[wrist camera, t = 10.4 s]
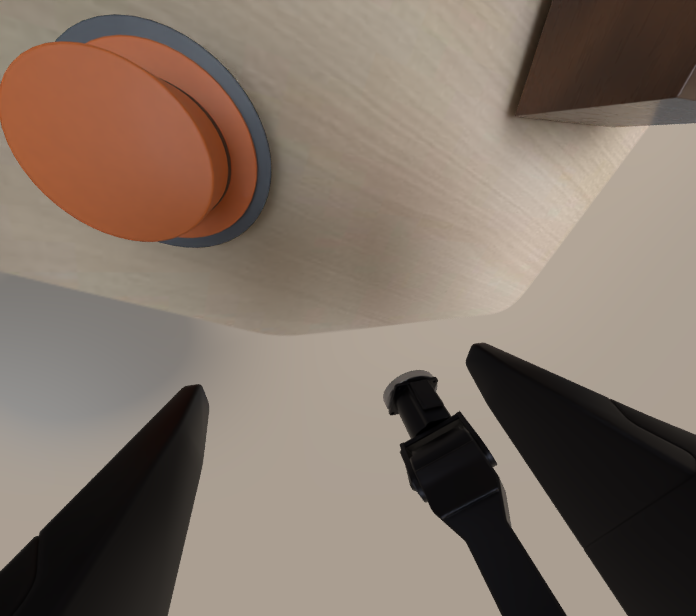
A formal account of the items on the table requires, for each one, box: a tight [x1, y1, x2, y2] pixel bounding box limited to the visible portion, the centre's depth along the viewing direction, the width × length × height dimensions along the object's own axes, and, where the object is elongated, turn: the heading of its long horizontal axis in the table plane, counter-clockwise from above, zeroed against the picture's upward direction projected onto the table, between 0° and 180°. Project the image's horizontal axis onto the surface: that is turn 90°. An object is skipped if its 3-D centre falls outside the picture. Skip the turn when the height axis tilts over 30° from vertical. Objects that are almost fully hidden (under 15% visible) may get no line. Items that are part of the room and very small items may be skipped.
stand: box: [55, 14, 271, 248], centre depth 13 cm, size 9×9×2 cm
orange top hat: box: [0, 35, 257, 242], centre depth 10 cm, size 8×8×5 cm
